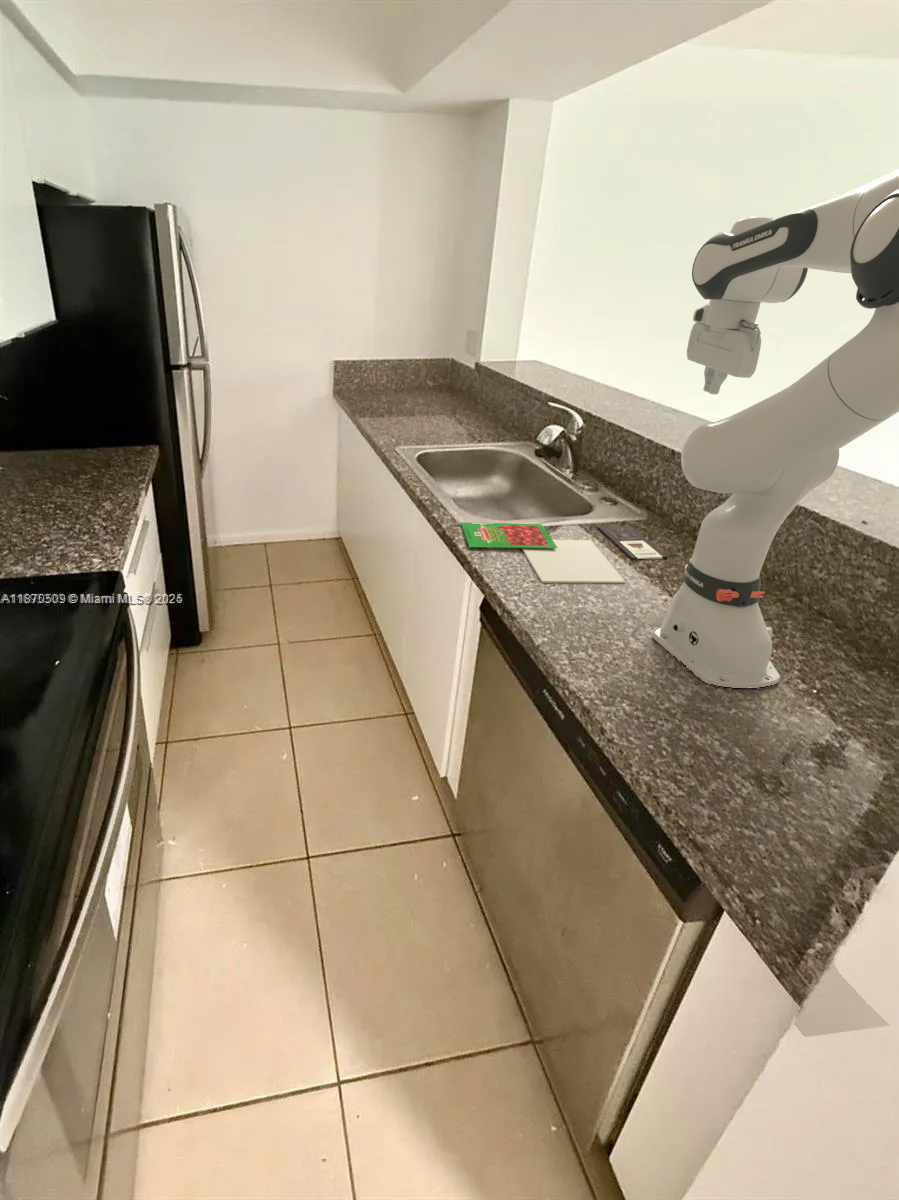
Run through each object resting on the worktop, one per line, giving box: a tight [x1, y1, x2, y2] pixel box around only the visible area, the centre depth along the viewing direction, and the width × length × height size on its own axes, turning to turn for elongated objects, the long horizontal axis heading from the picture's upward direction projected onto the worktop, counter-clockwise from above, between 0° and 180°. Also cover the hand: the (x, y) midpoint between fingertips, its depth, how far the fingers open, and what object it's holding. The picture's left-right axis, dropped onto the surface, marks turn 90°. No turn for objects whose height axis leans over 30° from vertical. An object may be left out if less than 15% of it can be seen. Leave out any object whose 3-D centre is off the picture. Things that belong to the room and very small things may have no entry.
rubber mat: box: [521, 539, 626, 584], centre depth 142 cm, size 21×18×1 cm
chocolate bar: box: [597, 525, 669, 561], centre depth 155 cm, size 9×1×18 cm
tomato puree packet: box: [460, 522, 557, 549], centre depth 151 cm, size 15×1×20 cm
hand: (710, 392), depth 129 cm, fingers closed
